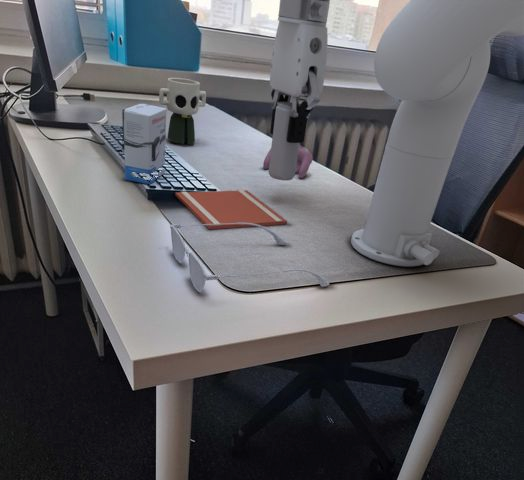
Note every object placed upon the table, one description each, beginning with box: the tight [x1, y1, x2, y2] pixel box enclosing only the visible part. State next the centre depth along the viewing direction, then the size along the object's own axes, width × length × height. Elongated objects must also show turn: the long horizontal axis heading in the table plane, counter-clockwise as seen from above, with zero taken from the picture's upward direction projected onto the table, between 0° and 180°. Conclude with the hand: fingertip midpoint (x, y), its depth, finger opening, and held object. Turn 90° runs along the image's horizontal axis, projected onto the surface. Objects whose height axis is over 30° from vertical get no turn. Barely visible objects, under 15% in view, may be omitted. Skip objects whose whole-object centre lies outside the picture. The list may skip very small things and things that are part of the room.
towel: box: [174, 189, 288, 230], centre depth 87 cm, size 15×14×1 cm
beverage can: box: [267, 101, 301, 181], centre depth 88 cm, size 5×5×12 cm
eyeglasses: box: [169, 223, 330, 293], centre depth 68 cm, size 15×18×4 cm
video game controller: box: [262, 144, 314, 179], centre depth 110 cm, size 10×5×7 cm, turn 65°
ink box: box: [124, 103, 168, 185], centre depth 92 cm, size 8×5×12 cm, turn 168°
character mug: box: [158, 77, 207, 145], centre depth 115 cm, size 11×7×13 cm, turn 117°
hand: (286, 137), depth 88 cm, fingers closed on beverage can, 4 cm apart
